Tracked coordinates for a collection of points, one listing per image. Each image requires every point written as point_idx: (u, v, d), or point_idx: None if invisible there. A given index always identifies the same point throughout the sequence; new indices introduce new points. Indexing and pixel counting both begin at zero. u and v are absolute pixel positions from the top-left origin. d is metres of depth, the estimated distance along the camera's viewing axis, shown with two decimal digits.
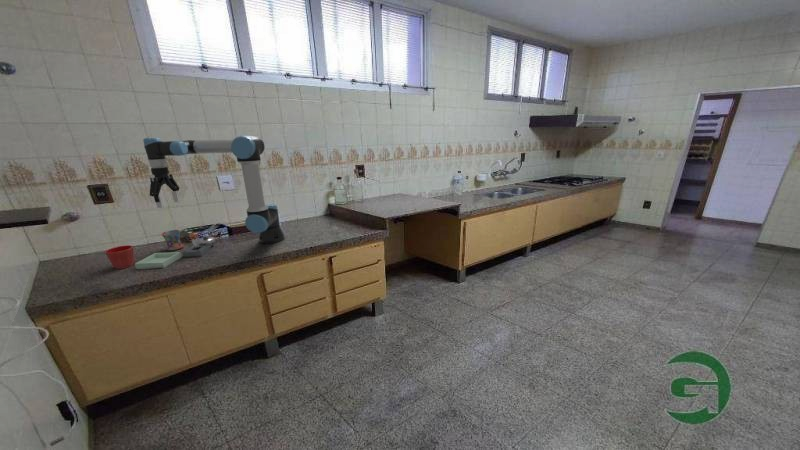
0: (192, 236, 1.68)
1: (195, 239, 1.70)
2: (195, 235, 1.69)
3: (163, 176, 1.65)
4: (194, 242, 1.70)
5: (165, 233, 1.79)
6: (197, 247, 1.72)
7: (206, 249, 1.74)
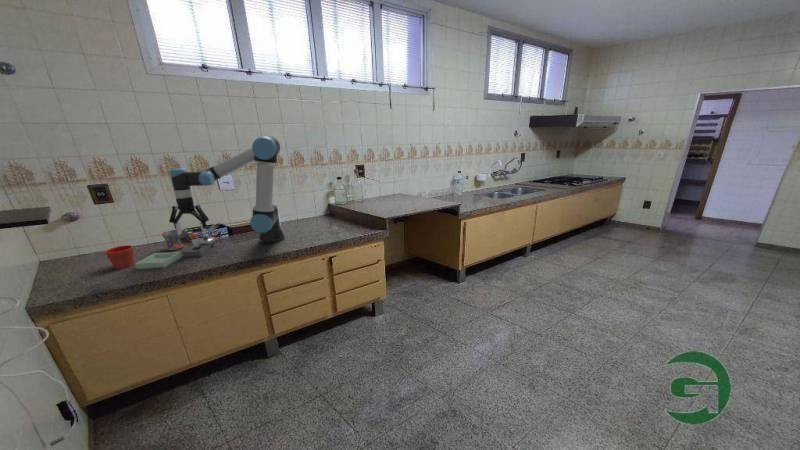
0: (192, 236, 1.68)
1: (195, 239, 1.70)
2: (195, 235, 1.69)
3: (184, 206, 1.64)
4: (194, 242, 1.70)
5: (165, 233, 1.79)
6: (197, 247, 1.72)
7: (206, 249, 1.74)
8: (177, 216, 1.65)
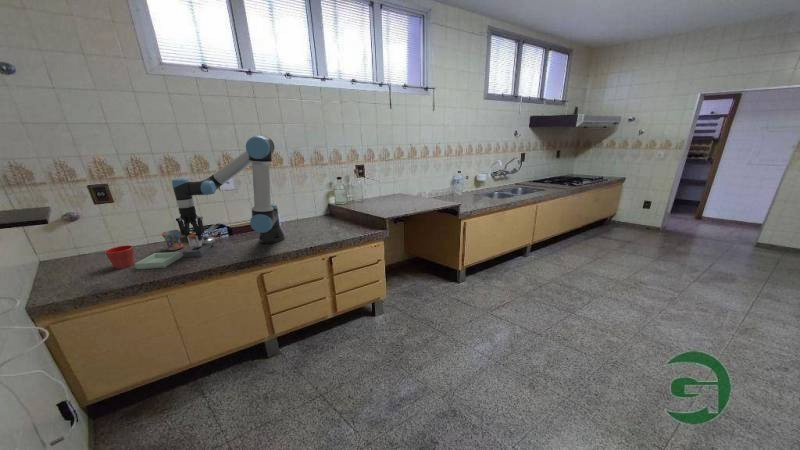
0: (192, 236, 1.68)
1: (195, 239, 1.70)
2: (195, 235, 1.69)
3: (187, 215, 1.65)
4: (194, 242, 1.70)
5: (165, 233, 1.79)
6: (197, 247, 1.72)
7: (206, 249, 1.74)
8: (185, 227, 1.67)
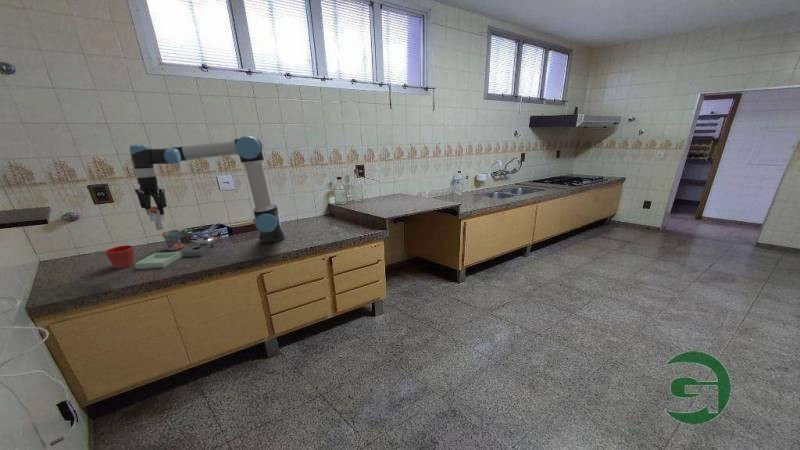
0: (153, 209, 1.54)
1: (156, 213, 1.56)
2: (156, 209, 1.55)
3: (147, 186, 1.51)
4: (155, 216, 1.56)
5: (165, 233, 1.79)
6: (159, 222, 1.57)
7: (206, 249, 1.74)
8: (145, 200, 1.53)
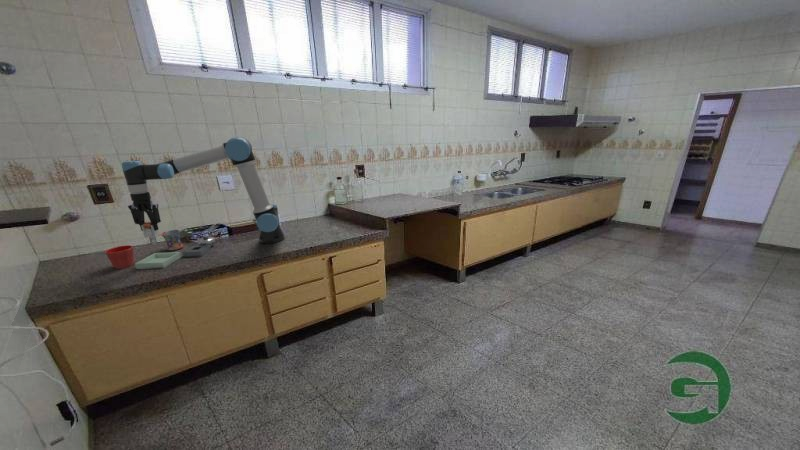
0: (147, 225, 1.53)
1: (150, 229, 1.55)
2: (150, 224, 1.54)
3: (140, 202, 1.50)
4: (149, 232, 1.55)
5: (165, 233, 1.79)
6: (153, 237, 1.56)
7: (206, 249, 1.74)
8: (138, 216, 1.52)
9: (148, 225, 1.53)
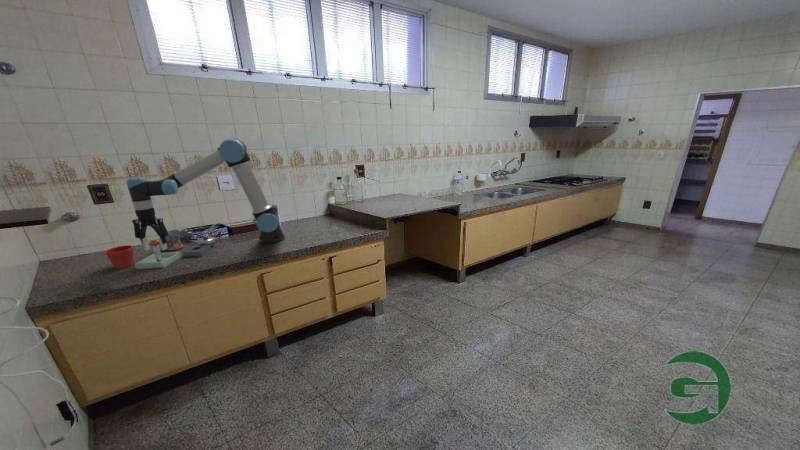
0: (153, 243, 1.56)
1: (156, 246, 1.58)
2: (156, 242, 1.57)
3: (145, 218, 1.53)
4: (155, 250, 1.58)
5: None
6: (159, 255, 1.59)
7: (206, 249, 1.74)
8: (141, 230, 1.54)
9: (154, 243, 1.56)
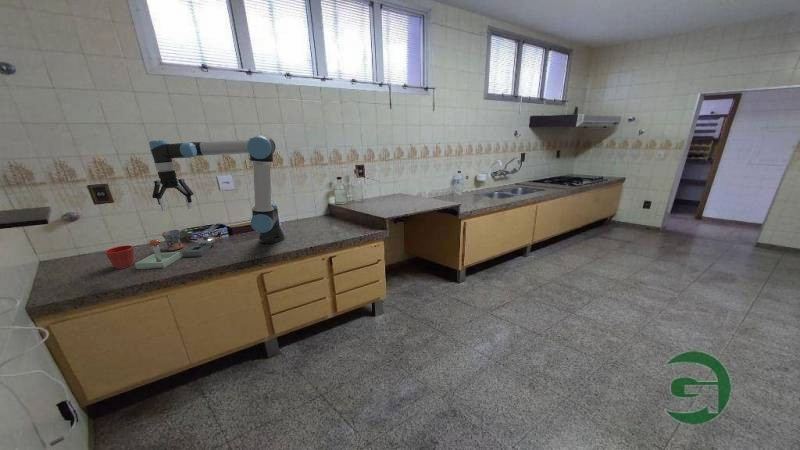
0: (153, 243, 1.56)
1: (156, 246, 1.58)
2: (156, 242, 1.57)
3: (167, 180, 1.58)
4: (155, 249, 1.58)
5: (165, 233, 1.79)
6: (159, 255, 1.60)
7: (206, 249, 1.74)
8: (160, 191, 1.59)
9: (154, 243, 1.56)
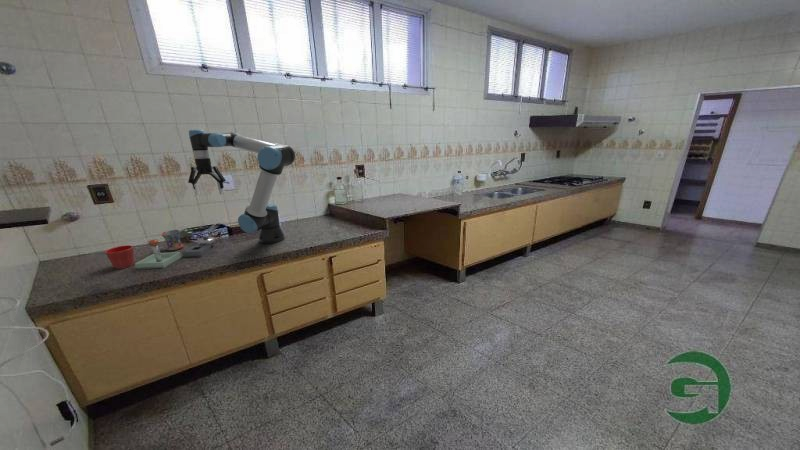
0: (152, 243, 1.56)
1: (155, 246, 1.58)
2: (155, 242, 1.57)
3: (202, 167, 1.71)
4: (154, 250, 1.58)
5: (165, 233, 1.79)
6: (158, 255, 1.59)
7: (206, 249, 1.74)
8: (196, 177, 1.73)
9: (153, 243, 1.56)
